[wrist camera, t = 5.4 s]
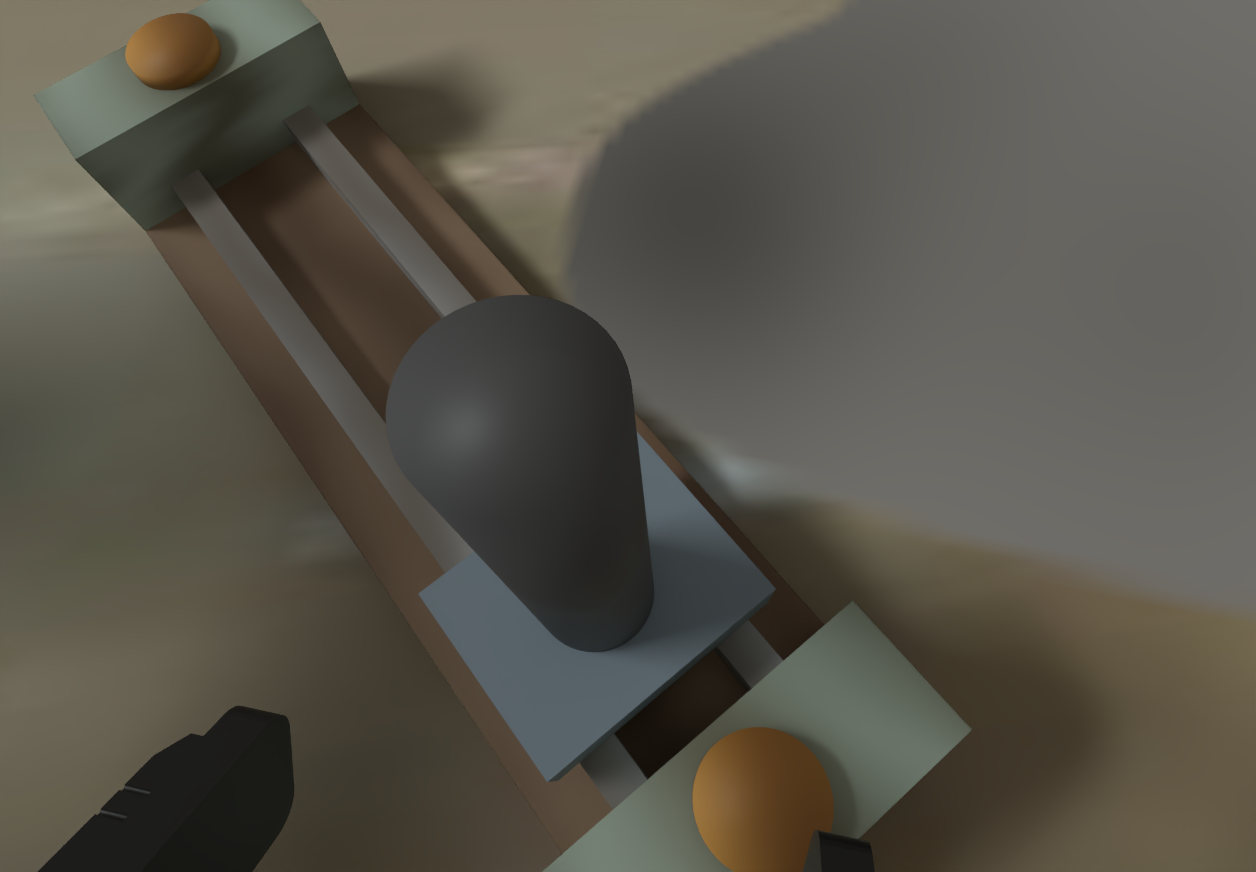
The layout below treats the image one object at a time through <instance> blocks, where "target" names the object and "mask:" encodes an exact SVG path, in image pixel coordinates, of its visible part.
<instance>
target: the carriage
mask: <svg viewBox="0 0 1256 872" xmlns="http://www.w3.org/2000/svg"><path fill="white" fill-rule="evenodd" d="M386 430H387V436H388V440H389V444H390V448H391V451H392V453H393V456H394V458H395V460H396V463H397V464H398V466H399V467H400V469H401V471H402V472H403V474H404V475H405V477H406V478H407V479H408V480H409V481H410V482H411V484H412V485H413V486H414V487H415V488H416V489H417V490H418V491H419V493H420V494H421V495H422V496H423V497H424V498H425V499H426V500H427V501H428V502H429V503H430V504H431V505H432V506H433V508H434V509H435V510H436V511H437V512H438V513H439V514H440V515H441V516H442V517H443V518H444V519H445V520H446V521H447V523H448V524H449V525H450V526H451V527H452V528H453V529H454V530H455V531H456V532H457V533H458V534H459V535H460V537H461V538H462V539H463V540H464V541H465V542H466V543H467V544H468V545H469V546H470V547H471V548H472V549H473V550H474V552H473V553H472V554H470V555H469V556H468V557H466V558H465V559H464V560H462V561H461V562H460V563H458V564H457V565H456V566H454V567H453V568H452V569H450V570H449V571H448V572H446V573H445V574H444V575H442V576H441V577H440V578H438V579H437V580H436V581H434V582H433V583H432V584H430V585H429V586H428V587H426V588H425V589H424V590H422V591H421V592H420V593H419V596H420V597H421V599H422V600H423V602H424V603H425V605H426V606H427V608H428V609H429V610H430V612H431V613H432V615H433V616H434V618H435V619H436V621H437V622H438V624H439V625H440V626H441V628H442V629H443V631H444V632H445V634H446V635H447V637H448V638H449V640H450V641H451V643H452V644H453V645H454V647H455V648H456V650H457V651H458V653H459V654H460V656H461V657H462V659H463V660H464V662H465V663H466V664H467V666H468V667H469V669H470V670H471V672H472V673H473V675H474V676H475V678H476V679H477V681H478V682H479V683H480V685H481V686H482V688H483V689H484V691H485V692H486V694H487V695H488V697H489V698H490V699H491V701H492V702H493V704H494V705H495V707H496V708H497V710H498V711H499V713H500V714H501V716H502V717H503V718H504V720H505V721H506V723H507V724H508V726H509V727H510V729H511V730H512V732H513V733H514V735H515V736H516V737H517V739H518V740H519V742H520V743H521V745H522V746H523V748H524V749H525V751H526V752H527V754H528V755H529V756H530V758H531V759H532V761H533V762H534V764H535V765H536V767H537V768H538V770H539V771H540V772H541V774H542V775H543V777H544V778H545V780H546V781H547V782H553V781H559V780H560V779H561V778H562V777H563V776H564V775H566V774H567V773H568V772H569V771H570V770H571V769H573V768H574V767H575V766H576V765H577V764H579V763H580V762H581V761H582V760H583V759H584V758H586V757H587V756H588V755H589V754H590V753H592V752H593V751H594V750H595V749H596V748H597V747H599V746H600V745H601V744H602V743H603V742H604V741H606V740H607V739H608V738H609V737H610V736H612V735H613V734H614V733H615V732H616V731H617V730H619V729H620V728H621V727H622V726H623V725H625V724H626V723H627V722H628V721H629V720H630V719H632V718H633V717H634V716H635V715H636V714H637V713H639V712H640V711H641V710H642V709H643V708H645V707H646V706H647V705H648V704H649V703H650V702H652V701H653V700H654V699H655V698H656V697H658V696H659V695H660V694H661V693H662V692H663V691H665V690H666V689H667V688H668V687H669V686H670V685H672V684H673V683H674V682H675V681H676V680H678V679H679V678H680V677H681V676H682V675H683V674H685V673H686V672H687V671H688V670H689V669H691V668H692V667H693V666H694V665H695V664H696V663H698V662H699V661H700V660H701V659H702V658H703V657H705V656H706V655H707V654H708V653H709V652H711V651H712V650H713V649H714V648H715V647H716V646H718V645H719V644H720V643H721V642H722V641H724V640H725V639H726V638H727V637H728V636H729V635H731V634H732V633H733V632H734V631H735V630H736V629H738V628H739V627H740V626H741V625H742V624H744V623H745V622H746V621H747V620H748V619H749V618H751V617H752V616H753V615H754V614H755V613H757V612H758V611H759V610H760V609H761V608H762V607H764V606H765V605H766V604H767V603H768V602H769V600H770V598H771V596H772V595H773V593H774V591H775V589H776V588H775V587H774V586H773V585H772V584H771V583H770V581H769V580H768V579H767V578H766V577H765V576H764V575H763V574H762V572H761V571H760V570H759V569H758V568H757V567H756V566H755V565H754V563H753V562H752V561H751V560H750V559H749V558H748V557H747V555H746V554H745V553H744V552H743V551H742V550H741V549H740V548H739V546H738V545H737V544H736V543H735V542H734V541H733V540H732V538H731V537H730V536H729V535H728V534H727V533H726V532H725V531H724V529H723V528H722V527H721V526H720V525H719V524H718V523H717V522H716V520H715V519H714V518H713V517H712V516H711V515H710V514H709V512H708V511H707V510H706V509H705V508H704V507H703V506H702V505H701V503H700V502H699V501H698V500H697V499H696V498H695V497H694V496H693V494H692V493H691V492H690V491H689V490H688V489H687V488H686V486H685V485H684V484H683V483H682V482H681V481H680V480H679V479H678V477H677V476H676V475H675V474H674V473H673V472H672V471H671V470H670V468H669V467H668V466H667V465H666V464H665V463H664V462H663V460H662V459H661V458H660V457H659V456H658V455H657V454H656V453H655V451H654V450H653V449H652V448H651V447H650V446H649V445H648V443H647V442H646V441H645V440H644V439H643V438H642V437H641V436H640V434H639V433H638V432H637V429H636V420H635V412H634V403H633V394H632V385H631V379H630V375H629V371H628V367H627V364H626V362H625V359H624V357H623V355H622V353H621V351H620V349H619V348H618V346H617V344H616V342H615V341H614V340H613V339H612V337H611V336H610V335H609V334H608V332H607V331H606V330H605V329H604V328H603V327H602V326H601V325H600V324H599V323H598V322H597V321H595V320H594V319H593V318H591V317H590V316H588V315H587V314H586V313H584V312H582V311H580V310H579V309H577V308H575V307H573V306H571V305H568V304H566V303H563V302H560V301H558V300H554V299H550V298H546V297H540V296H532V295H507V296H498V297H493V298H488V299H484V300H480V301H477V302H474V303H471V304H468V305H466V306H464V307H462V308H460V309H457V310H455V311H453V312H452V313H450V314H448V315H447V316H445V317H443V318H442V319H440V320H439V321H438V322H436V323H435V324H434V325H432V326H431V327H430V328H429V329H427V330H426V331H425V332H424V333H423V334H422V335H421V336H420V337H419V338H418V339H417V340H416V342H415V343H414V344H413V345H412V346H411V348H410V349H409V350H408V351H407V353H406V355H405V356H404V358H403V359H402V361H401V362H400V364H399V366H398V368H397V370H396V372H395V375H394V377H393V380H392V383H391V386H390V389H389V393H388V398H387V403H386Z"/></svg>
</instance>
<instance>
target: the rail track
mask: <svg viewBox="0 0 1256 872" xmlns="http://www.w3.org/2000/svg"><path fill="white" fill-rule="evenodd" d="M33 96H34V97H35V99H36V100H37V102H38V103H39V105H40V107H41V108H42V110H43V111H44V113H45V114H46V116H47V117H48V119H49V120H50V122H51V123H52V125H53V126H54V128H55V130H56V131H57V133H58V134H59V136H60V137H61V139H62V140H63V142H64V143H65V145H66V146H67V148H68V149H69V151H70V153H71V154H72V156H73V157H74V159H75V160H76V161H77V162H78V163H79V164H80V165H81V166H82V167H83V168H84V169H85V170H86V171H87V172H88V173H89V174H90V175H91V176H92V177H93V178H94V179H95V180H96V181H97V182H98V183H99V184H100V185H101V186H102V187H103V188H104V189H105V190H106V191H107V192H108V193H109V194H110V195H111V196H112V197H113V198H114V199H115V200H116V201H117V202H118V203H119V205H120V206H121V207H122V208H123V209H124V210H125V211H126V212H127V213H128V214H129V215H130V216H131V217H132V218H133V219H134V220H135V221H136V222H137V223H138V224H139V225H140V226H141V227H142V228H143V229H144V230H145V231H146V232H147V234H148V235H149V237H150V238H151V240H152V241H153V243H154V244H155V246H156V247H157V249H158V250H159V252H160V253H161V255H162V256H163V258H164V259H165V261H166V262H167V264H168V265H169V267H170V268H171V270H172V271H173V273H174V274H175V276H176V277H177V279H178V280H179V282H180V283H181V285H182V286H183V288H184V289H185V291H186V292H187V294H188V295H189V297H190V298H191V300H192V301H193V303H194V304H195V306H196V307H197V309H198V310H199V312H200V313H201V314H202V316H203V317H204V319H205V320H206V322H207V323H208V325H209V326H210V328H211V329H212V331H213V332H214V334H215V335H216V337H217V338H218V340H219V341H220V343H221V344H222V346H223V347H224V349H225V350H226V352H227V353H228V355H229V356H230V358H231V359H232V361H233V362H234V364H235V365H236V367H237V368H238V370H239V371H240V373H241V374H242V376H243V377H244V379H245V380H246V382H247V383H248V385H249V386H250V388H251V389H252V391H253V392H254V394H255V395H256V397H257V398H258V400H259V401H260V403H261V404H262V406H263V407H264V409H265V410H266V412H267V413H268V415H269V416H270V418H271V419H272V421H273V422H274V424H275V425H276V427H277V428H278V430H279V431H280V433H281V434H282V436H283V437H284V439H285V440H286V442H287V443H288V445H289V446H290V448H291V449H292V451H293V452H294V454H295V455H296V457H297V458H298V460H299V461H300V463H301V464H302V466H303V467H304V469H305V470H306V472H307V473H308V475H309V476H310V478H311V479H312V481H313V482H314V484H315V485H316V487H317V488H318V490H319V491H320V493H321V494H322V496H323V497H324V498H325V500H326V501H327V503H328V504H329V506H330V507H331V509H332V510H333V512H334V513H335V515H336V516H337V518H338V519H339V521H340V522H341V524H342V525H343V527H344V528H345V530H346V531H347V533H348V534H349V536H350V537H351V539H352V540H353V542H354V543H355V545H356V546H357V548H358V549H359V551H360V552H361V554H362V555H363V557H364V558H365V560H366V561H367V563H368V564H369V566H370V567H371V569H372V570H373V572H374V573H375V575H376V576H377V578H378V579H379V581H380V582H381V584H382V585H383V587H384V588H385V590H386V591H387V593H388V594H389V596H390V597H391V599H392V600H393V602H394V603H395V605H396V606H397V608H398V609H399V611H400V612H401V614H402V615H403V617H404V618H405V620H406V621H407V623H408V624H409V626H410V627H411V629H412V630H413V632H414V633H415V635H416V636H417V638H418V639H419V641H420V642H421V644H422V645H423V647H424V648H425V650H426V651H427V653H428V654H429V656H430V657H431V659H432V660H433V662H434V663H435V665H436V666H437V668H438V669H439V671H440V672H441V674H442V675H443V677H444V678H445V679H446V681H447V682H448V684H449V685H450V687H451V688H452V690H453V691H454V693H455V694H456V696H457V697H458V699H459V700H460V702H461V703H462V705H463V706H464V708H465V709H466V711H467V712H468V714H469V715H470V717H471V718H472V720H473V721H474V723H475V724H476V726H477V727H478V729H479V730H480V732H481V733H482V735H483V736H484V738H485V739H486V741H487V742H488V744H489V745H490V747H491V748H492V750H493V751H494V753H495V754H496V756H497V757H498V759H499V760H500V762H501V763H502V765H503V766H504V768H505V769H506V771H507V772H508V774H509V775H510V777H511V778H512V780H513V781H514V783H515V784H516V786H517V787H518V789H519V790H520V792H521V793H522V795H523V796H524V798H525V799H526V801H527V802H528V804H529V805H530V807H531V808H532V810H533V811H534V813H535V814H536V816H537V817H538V819H539V820H540V822H541V823H542V825H543V826H544V828H545V829H546V831H547V832H548V834H549V835H550V837H551V838H552V840H553V841H554V843H555V844H556V846H557V847H558V849H559V850H560V852H561V853H562V855H561V856H560V857H558V858H557V859H556V860H555V861H554V862H553V863H551V864H550V865H549V866H548V867H547V868H546V869H545V870H543V871H542V872H803V868H804V864H805V860H806V856H807V853H808V849H809V845H810V841H811V838H812V835H813V832H814V831H815V830H820V831H825V832H829V833H834V834H838V835H843V836H848V837H852V838H857V839H859V838H860V837H861V836H862V835H863V834H864V833H865V832H866V831H867V830H868V829H869V828H870V827H872V826H873V825H874V824H875V823H876V822H877V821H878V820H879V819H880V818H881V817H882V816H883V815H884V814H885V813H886V812H887V811H888V810H889V809H890V808H891V807H892V806H893V805H894V804H895V803H897V802H898V801H899V800H900V799H901V798H902V797H903V796H904V795H905V794H906V793H907V792H908V791H909V790H910V789H911V788H912V787H913V786H914V785H915V784H916V783H917V782H918V781H919V780H920V779H922V778H923V777H924V776H925V775H926V774H927V773H928V772H929V771H930V770H931V769H932V768H933V767H934V766H935V765H936V764H937V763H938V762H939V761H940V760H941V759H942V758H943V757H944V756H945V755H947V754H948V753H949V752H950V751H951V750H952V749H953V748H954V747H955V746H956V745H957V744H958V743H959V742H960V741H961V740H962V739H963V738H964V737H965V736H966V735H967V734H968V733H969V732H970V731H972V729H971V728H970V727H969V726H968V725H967V724H966V723H965V722H964V721H963V720H962V719H961V718H960V716H959V715H958V714H957V713H956V712H955V711H954V710H953V709H952V708H951V707H950V706H949V704H948V703H947V702H946V701H945V700H944V699H943V698H942V697H941V696H940V695H939V694H938V693H937V691H936V690H935V689H934V688H933V687H932V686H931V685H930V684H929V683H928V682H927V681H926V679H925V678H924V677H923V676H922V675H921V674H920V673H919V672H918V671H917V670H916V669H915V668H914V666H913V665H912V664H911V663H910V662H909V661H908V660H907V659H906V658H905V657H904V656H903V655H902V653H901V652H900V651H899V650H898V649H897V648H896V647H895V646H894V645H893V644H892V643H891V641H890V640H889V639H888V638H887V637H886V636H885V635H884V634H883V633H882V632H881V631H880V630H879V628H878V627H877V626H876V625H875V624H874V623H873V622H872V621H871V620H870V619H869V618H868V616H867V615H866V614H865V613H864V612H863V611H862V610H861V609H860V608H859V607H858V606H857V605H856V603H855V602H854V601H852V602H850V603H849V604H848V605H847V606H846V607H845V608H844V609H842V610H841V611H840V612H839V613H838V614H837V615H835V616H834V617H833V618H832V619H831V620H830V621H829V622H827V623H826V624H825V625H824V624H823V623H822V622H821V621H820V620H819V618H818V617H817V616H816V615H815V614H814V613H813V612H812V611H811V609H810V608H809V607H808V606H807V605H806V604H805V603H804V602H803V601H802V599H801V598H800V597H799V596H798V595H797V594H796V593H795V592H794V590H793V589H792V588H791V587H790V586H789V585H788V584H787V583H786V581H785V580H784V579H783V578H782V577H781V576H780V575H779V574H778V573H777V571H776V570H775V569H774V568H773V567H772V566H771V565H770V564H769V562H768V561H767V560H766V559H765V558H764V557H763V556H762V555H761V553H760V552H759V551H758V550H757V549H756V548H755V547H754V546H753V545H752V543H751V542H750V541H749V540H748V539H747V538H746V537H745V536H744V534H743V533H742V532H741V531H740V530H739V529H738V528H737V527H736V525H735V524H734V523H733V522H732V521H731V520H730V519H729V518H728V517H727V515H726V514H725V513H724V512H723V511H722V510H721V509H720V508H719V506H718V505H717V504H716V503H715V502H714V501H713V500H712V499H711V497H710V496H709V495H708V494H707V493H706V492H705V491H704V490H703V489H702V487H701V486H700V485H699V484H698V483H697V482H696V481H695V480H694V478H693V477H692V476H691V475H690V474H689V473H688V472H687V471H686V469H685V468H684V467H683V466H682V465H681V464H680V463H679V462H678V461H677V459H676V458H675V457H674V456H673V455H672V454H671V453H670V452H669V450H668V449H667V448H666V447H665V446H664V445H663V444H662V443H661V441H660V440H659V439H658V438H657V437H656V436H655V435H654V434H653V433H652V431H651V430H650V429H649V428H648V427H647V426H646V425H645V424H644V422H643V421H642V420H641V419H640V418H639V417H638V416H637V415H636V414H635V420H636V429H637V432H638V433H639V434H640V436H641V437H642V438H643V439H644V440H645V441H646V442H647V443H648V445H649V446H650V447H651V448H652V449H653V450H654V451H655V453H656V454H657V455H658V456H659V457H660V458H661V459H662V460H663V462H664V463H665V464H666V465H667V466H668V467H669V468H670V470H671V471H672V472H673V473H674V474H675V475H676V476H677V477H678V479H679V480H680V481H681V482H682V483H683V484H684V485H685V486H686V488H687V489H688V490H689V491H690V492H691V493H692V494H693V496H694V497H695V498H696V499H697V500H698V501H699V502H700V503H701V505H702V506H703V507H704V508H705V509H706V510H707V511H708V512H709V514H710V515H711V516H712V517H713V518H714V519H715V520H716V522H717V523H718V524H719V525H720V526H721V527H722V528H723V529H724V531H725V532H726V533H727V534H728V535H729V536H730V537H731V538H732V540H733V541H734V542H735V543H736V544H737V545H738V546H739V548H740V549H741V550H742V551H743V552H744V553H745V554H746V555H747V557H748V558H749V559H750V560H751V561H752V562H753V563H754V565H755V566H756V567H757V568H758V569H759V570H760V571H761V572H762V574H763V575H764V576H765V577H766V578H767V579H768V580H769V581H770V583H771V584H772V585H773V586H774V587H775V588H776V589H775V591H774V593H773V595H772V596H771V598H770V600H769V602H768V603H767V604H766V605H765V606H764V607H762V608H761V609H760V610H759V611H758V612H757V613H755V614H754V615H753V616H752V617H751V618H749V619H748V620H747V621H746V622H745V623H744V624H742V625H741V626H740V627H739V628H738V629H736V630H735V631H734V632H733V633H732V634H731V635H729V636H728V637H727V638H726V639H725V640H724V641H722V642H721V643H720V644H719V645H718V646H716V647H715V648H714V649H713V650H712V651H711V652H709V653H708V654H707V655H706V656H705V657H703V658H702V659H701V660H700V661H699V662H698V663H696V664H695V665H694V666H693V667H692V668H691V669H689V670H688V671H687V672H686V673H685V674H683V675H682V676H681V677H680V678H679V679H678V680H676V681H675V682H674V683H673V684H672V685H670V686H669V687H668V688H667V689H666V690H665V691H663V692H662V693H661V694H660V695H659V696H658V697H656V698H655V699H654V700H653V701H652V702H650V703H649V704H648V705H647V706H646V707H645V708H643V709H642V710H641V711H640V712H639V713H637V714H636V715H635V716H634V717H633V718H632V719H630V720H629V721H628V722H627V723H626V724H625V725H623V726H622V727H621V728H620V729H619V730H617V731H616V732H615V733H614V734H613V735H612V736H610V737H609V738H608V739H607V740H606V741H604V742H603V743H602V744H601V745H600V746H599V747H597V748H596V749H595V750H594V751H593V752H592V753H590V754H589V755H588V756H587V757H586V758H584V759H583V760H582V761H581V762H580V763H579V764H577V765H576V766H575V767H574V768H573V769H571V770H570V771H569V772H568V773H567V774H566V775H564V776H563V777H562V778H561V779H560V780H559V781H553V782H547V781H546V780H545V778H544V777H543V775H542V774H541V772H540V771H539V770H538V768H537V767H536V765H535V764H534V762H533V761H532V759H531V758H530V756H529V755H528V754H527V752H526V751H525V749H524V748H523V746H522V745H521V743H520V742H519V740H518V739H517V737H516V736H515V735H514V733H513V732H512V730H511V729H510V727H509V726H508V724H507V723H506V721H505V720H504V718H503V717H502V716H501V714H500V713H499V711H498V710H497V708H496V707H495V705H494V704H493V702H492V701H491V699H490V698H489V697H488V695H487V694H486V692H485V691H484V689H483V688H482V686H481V685H480V683H479V682H478V681H477V679H476V678H475V676H474V675H473V673H472V672H471V670H470V669H469V667H468V666H467V664H466V663H465V662H464V660H463V659H462V657H461V656H460V654H459V653H458V651H457V650H456V648H455V647H454V645H453V644H452V643H451V641H450V640H449V638H448V637H447V635H446V634H445V632H444V631H443V629H442V628H441V626H440V625H439V624H438V622H437V621H436V619H435V618H434V616H433V615H432V613H431V612H430V610H429V609H428V608H427V606H426V605H425V603H424V602H423V600H422V599H421V597H420V596H419V593H420V592H421V591H422V590H424V589H425V588H426V587H428V586H429V585H430V584H432V583H433V582H434V581H436V580H437V579H438V578H440V577H441V576H442V575H444V574H445V573H446V572H448V571H449V570H450V569H452V568H453V567H454V566H456V565H457V564H458V563H460V562H461V561H462V560H464V559H465V558H466V557H468V556H469V555H470V554H472V553H473V552H474V550H473V549H472V548H471V547H470V546H469V545H468V544H467V543H466V542H465V541H464V540H463V539H462V538H461V537H460V535H459V534H458V533H457V532H456V531H455V530H454V529H453V528H452V527H451V526H450V525H449V524H448V523H447V521H446V520H445V519H444V518H443V517H442V516H441V515H440V514H439V513H438V512H437V511H436V510H435V509H434V508H433V506H432V505H431V504H430V503H429V502H428V501H427V500H426V499H425V498H424V497H423V496H422V495H421V494H420V493H419V491H418V490H417V489H416V488H415V487H414V486H413V485H412V484H411V482H410V481H409V480H408V479H407V478H406V477H405V475H404V474H403V472H402V471H401V469H400V467H399V466H398V464H397V463H396V460H395V458H394V456H393V453H392V451H391V448H390V444H389V440H388V436H387V430H386V403H387V398H388V393H389V389H390V386H391V383H392V380H393V377H394V375H395V372H396V370H397V368H398V366H399V364H400V362H401V361H402V359H403V358H404V356H405V355H406V353H407V351H408V350H409V349H410V348H411V346H412V345H413V344H414V343H415V342H416V340H417V339H418V338H419V337H420V336H421V335H422V334H423V333H424V332H425V331H426V330H427V329H429V328H430V327H431V326H432V325H434V324H435V323H436V322H438V321H439V320H440V319H442V318H443V317H445V316H447V315H448V314H450V313H452V312H453V311H455V310H457V309H460V308H462V307H464V306H466V305H468V304H471V303H474V302H477V301H480V300H484V299H488V298H493V297H498V296H507V295H529V294H528V293H527V291H526V290H525V289H524V288H523V287H522V286H521V285H520V284H519V282H518V281H517V280H516V279H515V278H514V277H513V276H512V275H511V274H510V272H509V271H508V270H507V269H506V268H505V267H504V266H503V265H502V263H501V262H500V261H499V260H498V259H497V258H496V257H495V256H494V254H493V253H492V252H491V251H490V250H489V249H488V248H487V247H486V246H485V244H484V243H483V242H482V241H481V240H480V239H479V238H478V237H477V235H476V234H475V233H474V232H473V231H472V230H471V229H470V228H469V226H468V225H467V224H466V223H465V222H464V221H463V220H462V219H461V218H460V216H459V215H458V214H457V213H456V212H455V211H454V210H453V209H452V207H451V206H450V205H449V204H448V203H447V202H446V201H445V200H444V198H443V197H442V196H441V195H440V194H439V193H438V192H437V191H436V190H435V188H434V187H433V186H432V185H431V184H430V183H429V182H428V181H427V179H426V178H425V177H424V176H423V175H422V174H421V173H420V172H419V170H418V169H417V168H416V167H415V166H414V165H413V164H412V163H411V162H410V160H409V159H408V158H407V157H406V156H405V155H404V154H403V153H402V151H401V150H400V149H399V148H398V147H397V146H396V145H395V144H394V142H393V141H392V140H391V139H390V138H389V137H388V136H387V135H386V134H385V132H384V131H383V130H382V129H381V128H380V127H379V126H378V125H377V123H376V122H375V121H374V120H373V119H372V118H371V117H370V116H369V115H368V113H367V112H366V111H365V110H364V109H363V108H362V107H361V106H360V104H359V102H358V100H357V98H356V96H355V94H354V92H353V90H352V88H351V86H350V83H349V81H348V79H347V77H346V75H345V73H344V71H343V69H342V67H341V65H340V62H339V60H338V58H337V56H336V54H335V52H334V50H333V48H332V46H331V44H330V41H329V39H328V37H327V35H326V33H325V31H324V29H323V27H322V25H321V23H320V21H319V20H318V19H317V18H316V17H315V16H314V15H313V14H312V12H311V11H310V10H309V9H308V8H307V7H306V6H305V5H304V4H303V3H302V2H301V1H300V0H210V1H208V2H206V3H204V4H202V5H201V6H199V7H197V8H195V9H193V10H191V11H189V12H188V13H186V14H185V13H177V14H170V15H166V16H162V17H159V18H157V19H154V20H152V21H150V22H149V23H147V24H145V25H144V26H142V27H141V28H140V29H139V30H138V31H137V32H136V33H135V34H134V35H133V36H132V37H131V39H130V40H129V42H128V44H127V45H126V46H124V47H122V48H120V49H119V50H117V51H115V52H113V53H111V54H109V55H107V56H106V57H104V58H102V59H100V60H98V61H96V62H94V63H93V64H91V65H89V66H87V67H85V68H83V69H81V70H80V71H78V72H76V73H74V74H72V75H70V76H68V77H66V78H65V79H63V80H61V81H59V82H57V83H55V84H53V85H52V86H50V87H48V88H46V89H44V90H42V91H40V92H39V93H37V94H35V95H33Z"/></svg>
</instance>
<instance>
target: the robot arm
mask: <svg viewBox="0 0 1256 872" xmlns="http://www.w3.org/2000/svg"><path fill="white" fill-rule="evenodd" d="M293 797H294V779H293V765H292V751H291V737H290V725H289V721H288V719H287V717H286V716H284V715H280V714H275V713H271V712H266V711H262V710H257V709H253V708H248V707H243V706H235V707H233V708H231V709H230V710H228V711H227V712H226V713H225V714H224V715H223V716H222V717H221V718H220V719H219V721H218V722H217V723H216V724H215V725H214V726H213V727H212V728H211V729H210V730H209V731H208V732H207V733H206V734H205V735H204V736H200V735H196V734H189V735H188V736H186V737H184V738H183V739H181V740H179V741H178V742H176V743H174V744H172V745H171V746H169V747H167V748H166V749H164V750H162V751H161V752H159V753H157V754H156V755H154V756H153V757H152V758H151V759H150V760H149V761H148V762H147V763H146V764H145V765H144V766H143V767H142V768H141V769H140V770H139V771H138V772H137V773H136V774H135V775H134V776H133V777H132V778H131V779H130V780H129V781H128V782H127V783H126V784H125V787H124V789H123V790H122V791H121V790H119V791H118V792H117V793H116V794H115V795H114V796H113V797H112V798H111V799H110V800H109V801H108V802H107V803H106V804H105V805H104V806H103V807H102V808H101V811H100V813H99V814H98V815H96V814H95V815H94V816H93V817H92V818H91V819H90V820H89V821H88V822H87V823H86V824H85V825H84V826H83V827H82V828H81V829H80V830H79V831H78V832H77V833H76V834H75V835H74V836H73V837H72V838H71V839H70V840H69V841H68V842H67V843H66V844H65V845H64V846H63V847H62V848H61V849H60V850H59V851H58V852H57V853H56V854H55V855H54V856H53V857H52V858H51V859H50V860H49V861H48V862H47V863H46V864H45V865H44V866H43V867H42V868H41V869H40V870H39V871H38V872H252V871H253V870H254V868H255V867H256V866H257V864H258V863H259V861H260V860H261V859H262V857H263V856H264V854H265V853H266V852H267V850H268V849H269V847H270V846H271V844H272V843H273V842H274V840H275V839H276V837H277V836H278V834H279V833H280V831H281V830H282V828H283V826H284V824H285V822H286V820H287V817H288V815H289V812H290V809H291V806H292V802H293ZM803 872H875V871H874V864H873V856H872V850H871V846H870V844H869V842H868V841H866V840H861V839H857V838H852V837H848V836H843V835H838V834H834V833H829V832H825V831H820V830H815V831H814V832H813V835H812V838H811V841H810V845H809V849H808V853H807V856H806V860H805V864H804V868H803Z"/></svg>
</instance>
